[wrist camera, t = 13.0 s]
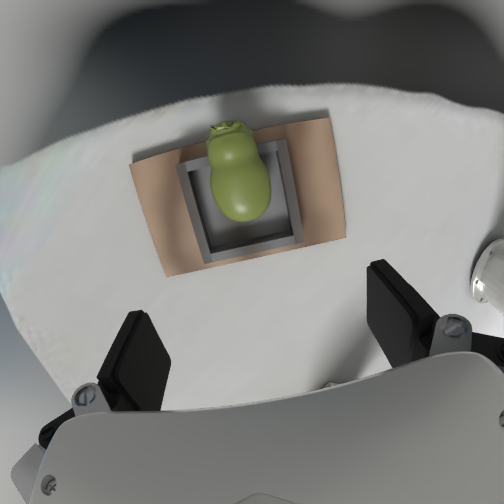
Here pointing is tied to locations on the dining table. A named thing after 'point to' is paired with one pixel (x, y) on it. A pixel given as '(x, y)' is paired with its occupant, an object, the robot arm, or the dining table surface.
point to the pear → (237, 172)
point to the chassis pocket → (251, 232)
